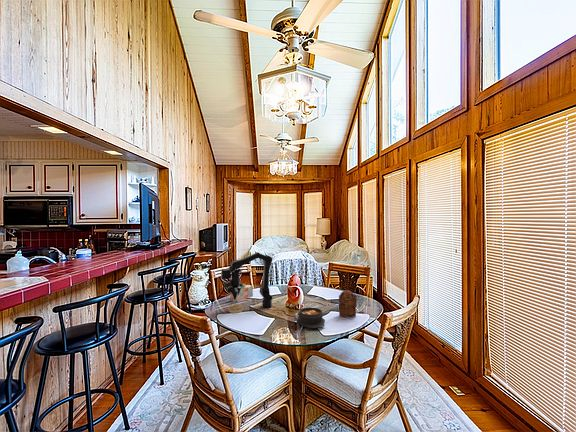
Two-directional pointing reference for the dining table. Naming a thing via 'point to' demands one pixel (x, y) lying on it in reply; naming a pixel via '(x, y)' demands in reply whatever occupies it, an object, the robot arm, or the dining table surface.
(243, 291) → the stack of blocks
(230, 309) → the wooden bead
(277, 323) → the dining table surface
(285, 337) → the dining table surface
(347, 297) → the wooden figurine
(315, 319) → the casserole
